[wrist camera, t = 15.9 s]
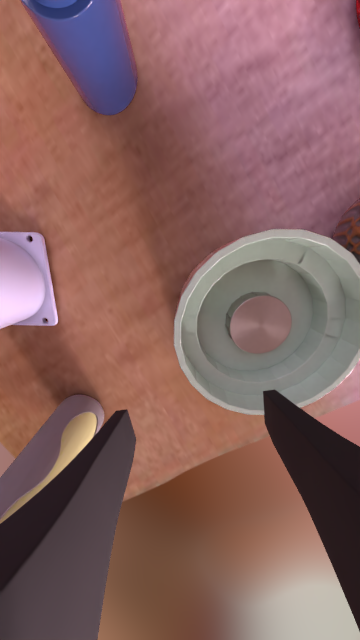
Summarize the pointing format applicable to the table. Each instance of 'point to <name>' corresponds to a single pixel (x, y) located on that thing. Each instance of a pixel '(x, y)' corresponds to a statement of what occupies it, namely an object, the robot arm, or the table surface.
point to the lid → (258, 322)
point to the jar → (90, 48)
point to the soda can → (358, 11)
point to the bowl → (305, 308)
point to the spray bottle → (50, 451)
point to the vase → (349, 230)
